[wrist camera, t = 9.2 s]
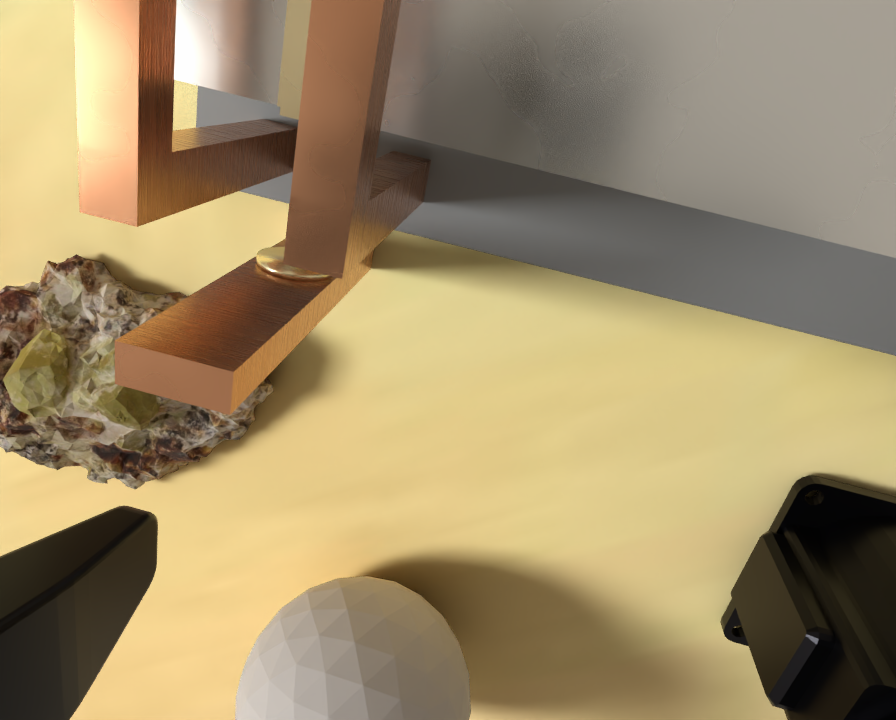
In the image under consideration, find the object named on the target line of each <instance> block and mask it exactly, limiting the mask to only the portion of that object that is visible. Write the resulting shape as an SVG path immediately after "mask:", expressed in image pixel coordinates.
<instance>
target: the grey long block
mask: <svg viewBox="0 0 896 720" xmlns="http://www.w3.org/2000/svg"><path fill="white" fill-rule="evenodd" d="M311 1H312V0H176V32H175V65H174V80H178V81H182V82H186V83H190V84H194V85H198V86H202V87H206V88H210V89H214V90H218V91H222V92H226V93H231V94H235V95H239V96H243V97H247V98H251V99H255V100H259V101H263V102H267V103H271V104H275V105H277V106H278V107H280V115H281V116H285V117H289V118H293V119H297V120H299V112H300V102H301V93H302V84H303V75H304V66H305V56H306V47H307V38H308V29H309V19H310V10H311ZM380 131H384V132H388V133H392V134H396V135H400V136H404V137H408V138H412V139H417V140H421V141H425V142H429V143H433V144H437V145H441V146H445V147H449V148H453V149H457V150H461V151H465V152H469V153H473V154H477V155H481V156H485V157H489V158H493V159H497V160H501V161H505V162H509V163H514V164H518V165H522V166H526V167H530V168H534V169H538V170H542V171H546V172H550V173H554V174H558V175H562V176H566V177H570V178H574V179H578V180H582V181H586V182H590V183H594V184H598V185H602V186H607V187H611V188H615V189H619V190H623V191H627V192H631V193H635V194H639V195H643V196H647V197H651V198H655V199H659V200H663V201H667V202H671V203H675V204H679V205H683V206H687V207H691V208H695V209H700V210H704V211H708V212H712V213H716V214H720V215H724V216H728V217H732V218H736V219H740V220H744V221H748V222H752V223H756V224H760V225H764V226H768V227H772V228H776V229H780V230H784V231H788V232H793V233H797V234H801V235H805V236H809V237H813V238H817V239H821V240H825V241H829V242H833V243H837V244H841V245H845V246H849V247H853V248H857V249H861V250H865V251H869V252H873V253H877V254H881V255H885V256H890V257H894V258H896V0H401V4H400V11H399V17H398V23H397V29H396V36H395V42H394V48H393V54H392V61H391V67H390V73H389V79H388V86H387V92H386V98H385V104H384V111H383V117H382V123H381V129H380Z"/></svg>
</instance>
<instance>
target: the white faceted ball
mask: <svg viewBox="0 0 896 720" xmlns="http://www.w3.org/2000/svg"><path fill="white" fill-rule="evenodd" d="M470 713H471V705H470V682H469V671H468V668H467V665H466V662H465V659H464V656H463V653H462V650H461V647H460V644H459V641H458V640H457V638H456V636H455V635H454V633H453V631H452V630H451V628H450V627H449V625H448V623H447V622H446V620H445V618H444V617H443V615H442V614H440V613H439V612H438V611H437V610H436V609H435V608H434V607H433V606H432V605H431V604H430V603H429V602H428V601H426V600H425V599H424V598H423V597H422V596H421V595H420V594H418V593H416V592H414V591H412V590H410V589H408V588H406V587H405V586H403V585H401V584H399V583H397V582H395V581H390V580H385V579H379V578H374V577H369V576H361V577H350V578H339V579H335V580H332V581H329V582H326V583H324V584H321V585H318V586H315V587H312V588H310V589H308V590H306V591H305V592H303V593H302V594H301V595H299V596H298V597H296V598H295V599H294V600H292V601H291V602H289V603H288V604H286V605H285V606H284V607H282V608H281V609H280V611H279V612H278V613H277V614H276V615H275V617H274V618H273V619H272V620H271V621H270V623H269V624H268V625H267V626H266V627H265V629H264V630H263V631H262V633H261V634H260V635H259V636H258V638H257V640H256V642H255V644H254V646H253V648H252V650H251V652H250V654H249V656H248V658H247V660H246V663H245V666H244V669H243V672H242V675H241V678H240V683H239V687H238V691H237V695H236V712H235V720H469V717H470Z"/></svg>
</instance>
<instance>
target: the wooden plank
mask: <svg viewBox="0 0 896 720" xmlns="http://www.w3.org/2000/svg"><path fill="white" fill-rule="evenodd" d="M285 241H286V239H284V240H283V241H281V242H279V243H278V244H276V245H274V246H273V247H271V248H265V249H262V250H260V251H259V252H258V253H257V256H256V257H254V258H252V259H251V260H249V261H247V262H246V263H244V264H242V265H241V266H239V267H237V268H236V269H234V270H232V271H231V272H229V273H227V274H226V275H224V276H222V277H221V278H219V279H217V280H216V281H214V282H212V283H210V284H209V285H207V286H205V287H204V288H202V289H200V290H199V291H197V292H195V293H194V294H192V295H190V296H189V297H187V298H185V299H184V300H182V301H180V302H179V303H177V304H175V305H174V306H172V307H170V308H168V309H167V310H165V311H163V312H162V313H160V314H158V315H157V316H155V317H153V318H152V319H150V320H148V321H147V322H145V323H143V324H142V325H140V326H138V327H137V328H135V329H133V330H132V331H130V332H128V333H126V334H125V335H123V336H121V337H120V338H118V339H116V340H115V384H116V385H120V386H124V387H128V388H131V389H135V390H139V391H143V392H146V393H150V394H154V395H158V396H161V397H165V398H169V399H172V400H176V401H180V402H184V403H187V404H191V405H195V406H199V407H202V408H206V409H210V410H214V411H217V412H221V413H225V414H228V415H231V414H232V413H233V412H234V410H235V409H236V408H237V407H238V406H239V405H240V404H241V403H242V402H243V401H244V400H245V399H246V398H247V397H248V396H249V395H250V394H251V393H252V392H253V391H254V390H255V389H256V388H257V387H258V386H259V384H260V383H261V382H262V381H263V380H264V379H265V378H266V377H267V376H268V375H269V374H270V373H271V372H272V371H273V370H274V369H275V368H276V367H277V366H278V365H279V364H280V363H281V362H282V361H283V359H284V358H285V357H286V356H287V355H288V354H289V353H290V352H291V351H292V350H293V349H294V348H295V347H296V346H297V345H298V344H299V343H300V342H301V341H302V340H303V339H304V338H305V337H306V336H307V335H308V333H309V332H310V331H311V330H312V329H313V328H314V327H315V326H316V325H317V324H318V323H319V322H320V321H321V320H322V319H323V318H324V317H325V316H326V315H327V314H328V313H329V312H330V311H331V310H332V309H333V307H334V306H335V305H336V304H337V303H338V302H339V301H340V300H341V299H342V298H343V297H344V296H345V295H346V294H347V293H348V292H349V291H350V290H351V289H352V288H353V287H354V286H355V285H356V284H357V282H358V281H359V280H360V279H361V278H362V277H363V276H364V275H365V274H366V273H367V272H368V271H369V270H370V269H371V263H372V257H373V251H374V249H373V250H372V251H371V252H370V253H369V254H368V255H367V256H366V257H365V258H364V259H363V260H362V261H361V262H360V263H359V264H358V265H357V266H356V267H354V268H353V269H352V270H351V271H350V272H349V273H348V274H347V275H346V276H345V277H344V278H343V279H340V278H336V277H332V276H328V275H324V274H320V273H316V272H312V271H309V270H305V269H301V268H297V267H293V266H289V265H285V264H283V259H284V250H285Z"/></svg>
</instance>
